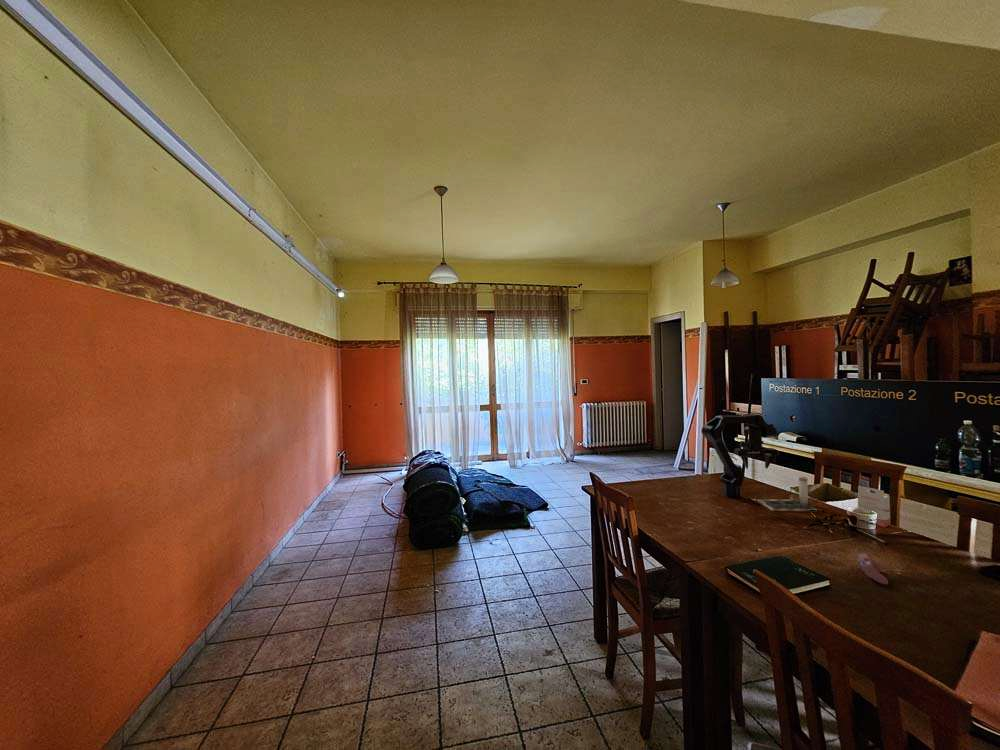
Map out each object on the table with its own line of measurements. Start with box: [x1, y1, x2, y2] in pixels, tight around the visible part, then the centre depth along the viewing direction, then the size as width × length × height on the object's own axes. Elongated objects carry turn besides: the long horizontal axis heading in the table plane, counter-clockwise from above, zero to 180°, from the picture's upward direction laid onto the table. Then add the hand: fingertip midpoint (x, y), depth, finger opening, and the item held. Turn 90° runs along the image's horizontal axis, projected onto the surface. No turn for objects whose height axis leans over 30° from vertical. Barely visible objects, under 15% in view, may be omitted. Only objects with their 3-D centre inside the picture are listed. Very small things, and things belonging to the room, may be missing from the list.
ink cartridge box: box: [857, 485, 891, 528], centre depth 153 cm, size 9×5×15 cm, turn 25°
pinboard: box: [756, 494, 817, 512], centre depth 173 cm, size 19×12×4 cm, turn 84°
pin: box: [798, 476, 809, 505], centre depth 170 cm, size 3×3×13 cm
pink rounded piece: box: [856, 553, 889, 585], centre depth 115 cm, size 10×5×7 cm, turn 142°
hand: (756, 468), depth 191 cm, fingers open, 9 cm apart
